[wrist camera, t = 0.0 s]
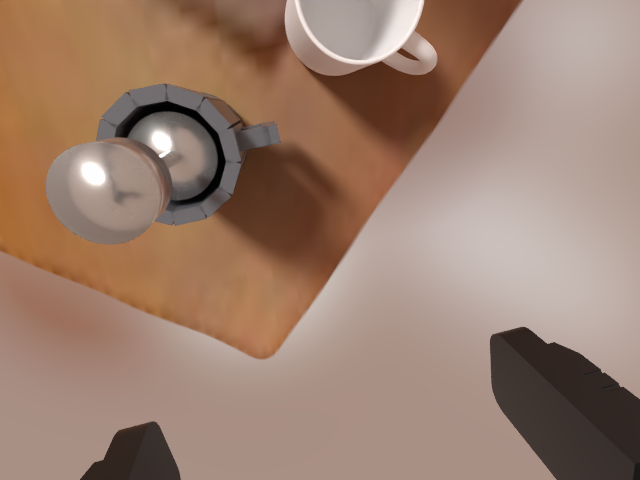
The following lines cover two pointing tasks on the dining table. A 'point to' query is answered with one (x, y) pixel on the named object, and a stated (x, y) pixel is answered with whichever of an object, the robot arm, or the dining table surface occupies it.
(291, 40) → the cup
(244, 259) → the dining table surface
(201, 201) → the gray tankard
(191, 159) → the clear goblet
